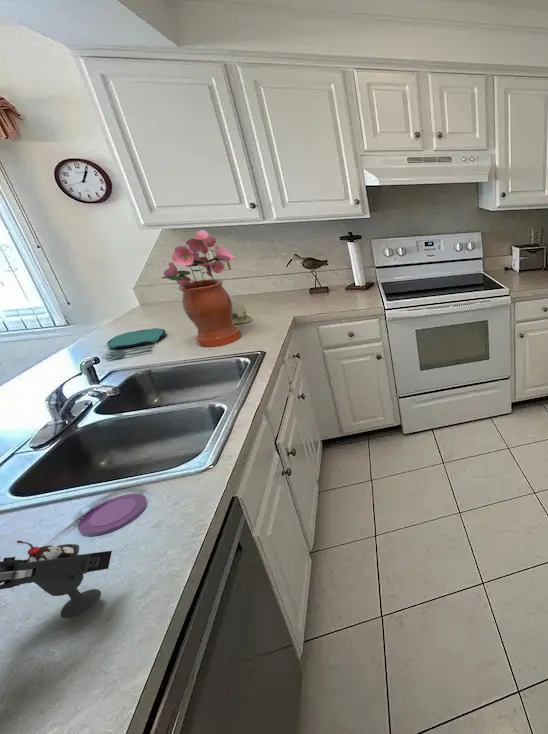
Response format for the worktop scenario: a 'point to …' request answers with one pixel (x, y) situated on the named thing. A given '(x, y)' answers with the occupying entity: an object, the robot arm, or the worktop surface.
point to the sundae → (64, 580)
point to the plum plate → (112, 514)
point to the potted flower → (205, 291)
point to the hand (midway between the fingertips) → (83, 562)
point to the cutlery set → (134, 341)
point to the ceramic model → (239, 314)
